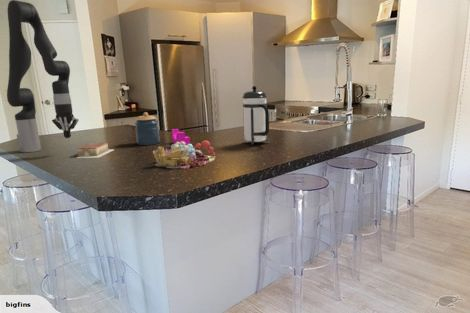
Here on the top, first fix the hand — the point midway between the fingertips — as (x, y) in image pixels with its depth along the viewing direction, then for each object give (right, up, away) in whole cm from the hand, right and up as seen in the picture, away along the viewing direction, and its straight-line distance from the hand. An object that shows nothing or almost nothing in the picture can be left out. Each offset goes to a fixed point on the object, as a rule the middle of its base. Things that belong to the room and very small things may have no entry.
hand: (67, 137), depth 167 cm
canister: (+34, -2, +23) cm, 42 cm away
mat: (+14, -8, 0) cm, 16 cm away
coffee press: (+96, -2, +12) cm, 97 cm away
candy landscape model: (+62, -12, -22) cm, 67 cm away
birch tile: (+7, -6, +1) cm, 9 cm away
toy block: (+54, -3, +18) cm, 57 cm away
